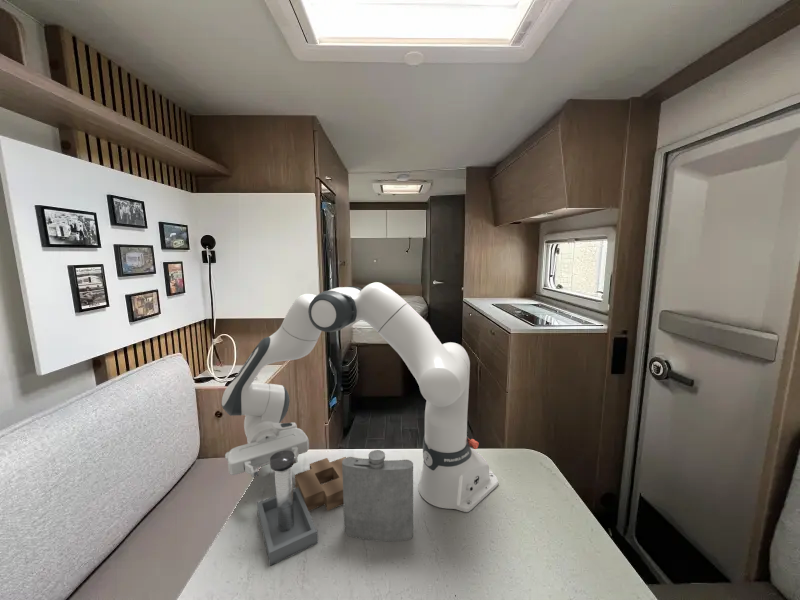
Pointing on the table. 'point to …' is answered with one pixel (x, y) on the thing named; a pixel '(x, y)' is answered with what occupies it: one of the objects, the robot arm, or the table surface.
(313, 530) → the tray
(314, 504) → the block
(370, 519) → the hip flask
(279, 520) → the steel pin
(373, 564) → the table surface
